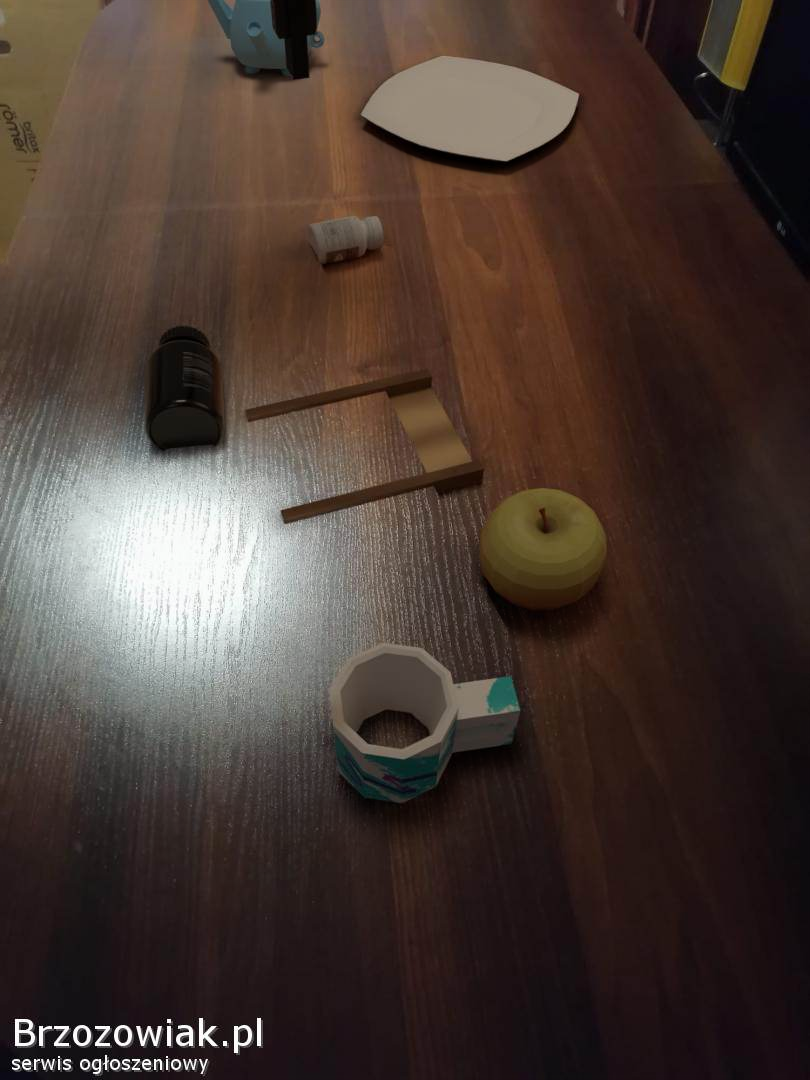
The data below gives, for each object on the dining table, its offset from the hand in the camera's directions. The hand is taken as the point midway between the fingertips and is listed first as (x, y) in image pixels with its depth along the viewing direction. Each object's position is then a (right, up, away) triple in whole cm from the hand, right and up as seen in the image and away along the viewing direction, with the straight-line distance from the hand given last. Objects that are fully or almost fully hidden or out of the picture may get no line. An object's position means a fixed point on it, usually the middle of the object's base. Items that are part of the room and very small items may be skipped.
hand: (297, 72), depth 81 cm
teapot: (-10, +27, +47) cm, 55 cm away
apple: (+21, -47, -11) cm, 53 cm away
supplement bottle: (-9, -35, -6) cm, 37 cm away
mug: (+11, -59, -20) cm, 63 cm away
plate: (+19, +14, +38) cm, 45 cm away
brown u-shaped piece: (+6, -36, -2) cm, 37 cm away
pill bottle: (0, -11, +14) cm, 18 cm away
